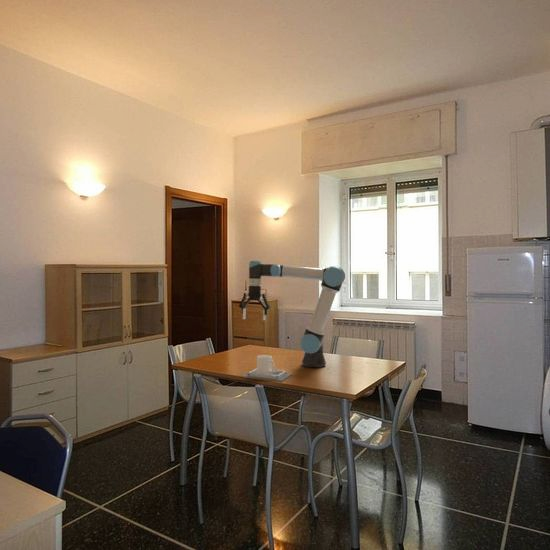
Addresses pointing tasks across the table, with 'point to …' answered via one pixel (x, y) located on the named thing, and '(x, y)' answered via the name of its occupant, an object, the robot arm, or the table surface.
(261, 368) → the cup
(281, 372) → the rail plate
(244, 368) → the table surface
